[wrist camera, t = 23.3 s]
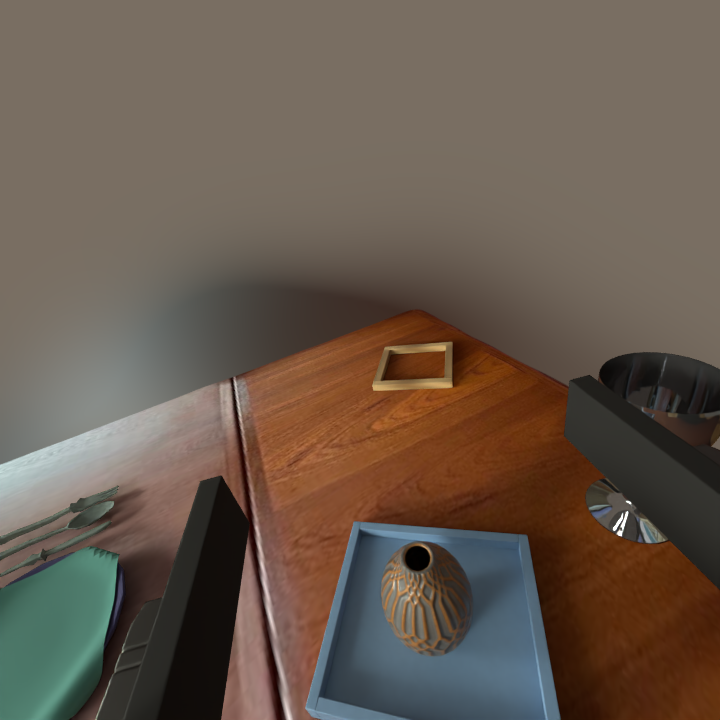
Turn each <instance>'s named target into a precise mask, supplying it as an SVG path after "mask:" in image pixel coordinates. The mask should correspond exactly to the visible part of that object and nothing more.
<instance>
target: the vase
mask: <svg viewBox="0 0 720 720" xmlns="http://www.w3.org/2000/svg"><path fill="white" fill-rule="evenodd" d="M381 599H382V606H383V610H384V613H385V616H386V619H387V621H388V623H389V625H390V627H391V629H392V631H393V632H394V634H395V635H396V637H397V638H398V639H399V640H400V641H401V642H402V643H403V644H404V645H405V646H406V647H408V648H409V649H411V650H412V651H414V652H416V653H419V654H421V655H425V656H441V655H445V654H447V653H449V652H451V651H453V650H454V649H455V648H457V647H458V646H459V645H460V644H461V643H462V641H463V640H464V639H465V637H466V635H467V633H468V631H469V628H470V626H471V622H472V616H473V596H472V590H471V586H470V583H469V580H468V578H467V575H466V573H465V571H464V569H463V568H462V566H461V565H460V563H459V562H458V561H457V559H456V558H455V557H454V556H453V555H452V554H451V553H450V552H449V551H447V550H446V549H445V548H443V547H441V546H440V545H437V544H435V543H432V542H427V541H414V542H411V543H408V544H406V545H404V546H402V547H401V548H399V549H398V550H397V551H396V552H395V553H394V554H393V555H392V556H391V558H390V559H389V561H388V563H387V565H386V567H385V570H384V573H383V577H382V584H381Z"/></svg>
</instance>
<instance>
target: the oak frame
mask: <svg viewBox="0 0 720 720" xmlns="http://www.w3.org/2000/svg"><path fill="white" fill-rule="evenodd" d="M434 351H446V353H445V377H444V378H433V379H412V380H391V381H383V380H384V377H385V373H386V370H387V366H388V363H389V359H390V356H391V355H392V354H406V353H420V352H434ZM372 386H373V390H374V391H382V390H408V389H433V388H453V342H443V343H430V344H417V345H404V346H391V347H385V349H384V352H383V355H382V358H381V361H380V364H379V367H378V370H377V373H376V376H375V379H374V382H373V385H372Z"/></svg>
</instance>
